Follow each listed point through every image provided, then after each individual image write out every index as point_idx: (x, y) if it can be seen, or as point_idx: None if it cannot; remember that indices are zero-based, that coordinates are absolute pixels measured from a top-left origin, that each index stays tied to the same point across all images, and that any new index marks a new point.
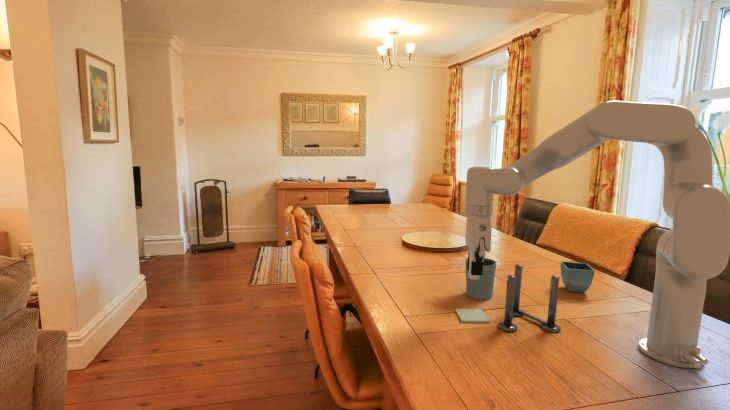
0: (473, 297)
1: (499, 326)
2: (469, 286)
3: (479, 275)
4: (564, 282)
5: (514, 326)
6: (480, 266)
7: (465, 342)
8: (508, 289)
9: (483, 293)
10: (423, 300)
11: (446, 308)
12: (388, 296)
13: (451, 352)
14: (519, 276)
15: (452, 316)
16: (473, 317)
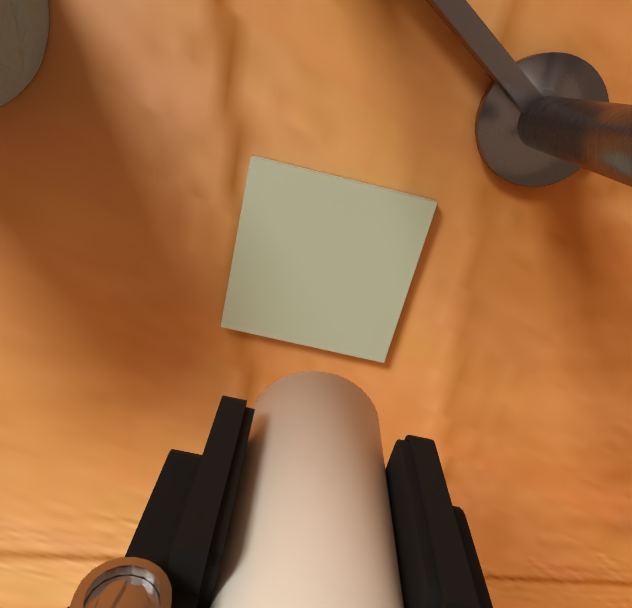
0: (17, 94)
1: (528, 185)
2: None
3: (372, 426)
4: None
5: (570, 77)
6: (482, 588)
7: (582, 433)
8: None
9: (16, 15)
10: (58, 429)
11: (184, 355)
12: (4, 561)
13: (628, 516)
14: None
15: (297, 369)
16: (364, 280)
